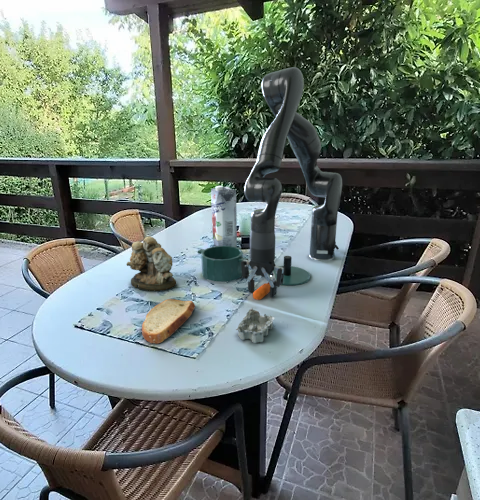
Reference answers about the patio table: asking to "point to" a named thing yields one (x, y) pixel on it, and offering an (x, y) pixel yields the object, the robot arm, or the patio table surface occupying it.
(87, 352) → the patio table surface
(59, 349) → the patio table surface
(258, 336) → the egg carton
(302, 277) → the lid
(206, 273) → the pot
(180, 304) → the bread slice
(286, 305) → the patio table surface
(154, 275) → the owl figurine
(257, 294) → the carrot
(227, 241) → the juice carton
